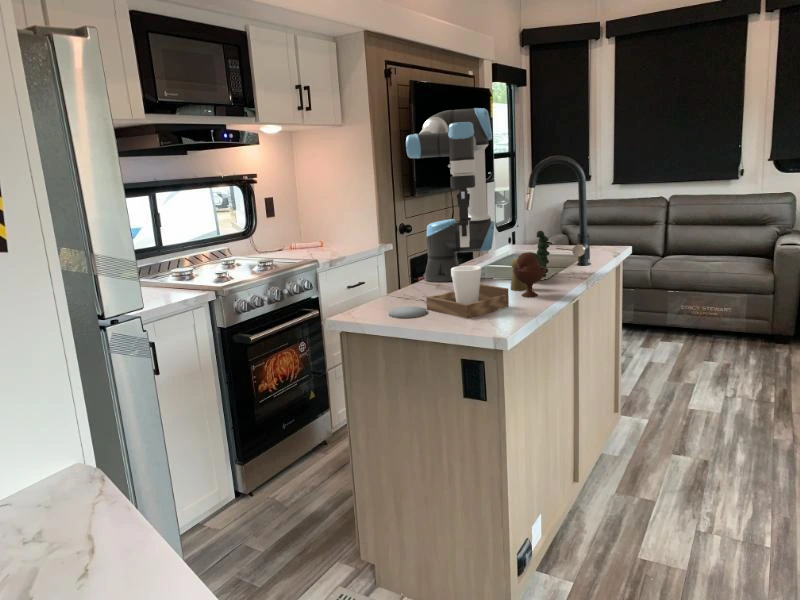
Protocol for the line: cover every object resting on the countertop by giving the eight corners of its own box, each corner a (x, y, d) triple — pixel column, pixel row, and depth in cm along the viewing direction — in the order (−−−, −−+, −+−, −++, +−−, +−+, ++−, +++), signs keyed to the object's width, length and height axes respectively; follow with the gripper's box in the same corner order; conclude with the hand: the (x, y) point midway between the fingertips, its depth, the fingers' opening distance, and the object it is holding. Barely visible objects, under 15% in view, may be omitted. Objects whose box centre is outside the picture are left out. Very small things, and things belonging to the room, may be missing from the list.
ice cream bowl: (547, 299, 204) (546, 254, 201) (512, 299, 206) (511, 254, 203) (546, 292, 214) (546, 249, 211) (513, 292, 216) (512, 250, 213)
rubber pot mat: (410, 307, 204) (410, 304, 204) (434, 312, 195) (434, 310, 195) (381, 314, 197) (381, 311, 197) (404, 320, 188) (404, 317, 188)
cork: (507, 289, 223) (506, 258, 221) (521, 286, 225) (520, 257, 223) (516, 291, 218) (516, 260, 215) (531, 289, 220) (530, 258, 217)
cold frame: (467, 299, 211) (467, 281, 209) (508, 306, 196) (508, 288, 195) (426, 309, 200) (426, 291, 198) (467, 318, 185) (466, 298, 184)
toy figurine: (532, 277, 251) (510, 283, 229) (533, 230, 248) (510, 232, 227) (555, 278, 246) (534, 284, 225) (556, 230, 243) (535, 232, 222)
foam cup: (488, 308, 197) (487, 267, 194) (466, 313, 192) (464, 272, 189) (468, 303, 204) (467, 264, 202) (446, 308, 199) (445, 268, 197)
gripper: (451, 174, 201) (454, 239, 206) (448, 176, 177) (451, 250, 182) (474, 173, 201) (477, 238, 205) (475, 174, 176) (477, 249, 181)
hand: (465, 244), depth 193 cm, fingers open, 13 cm apart
